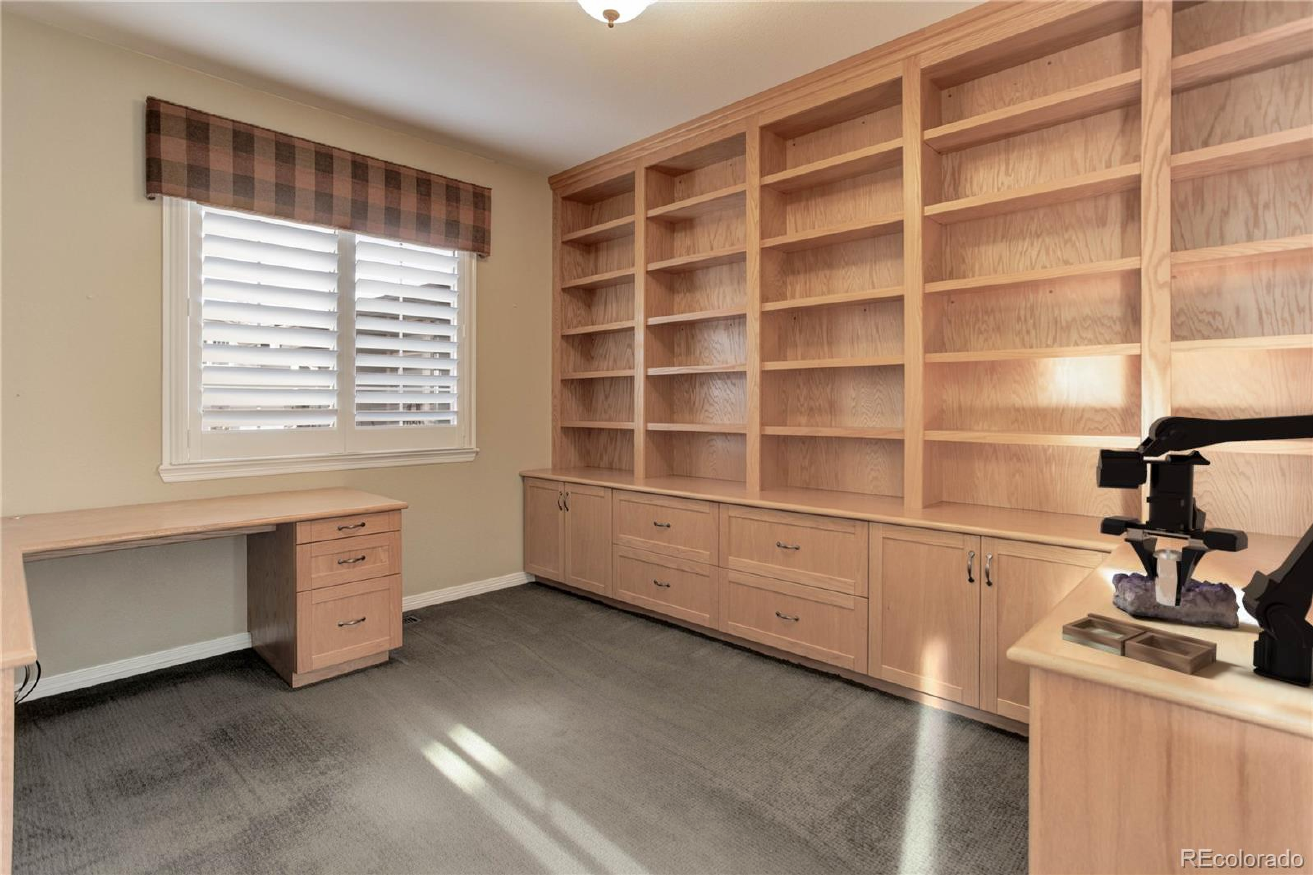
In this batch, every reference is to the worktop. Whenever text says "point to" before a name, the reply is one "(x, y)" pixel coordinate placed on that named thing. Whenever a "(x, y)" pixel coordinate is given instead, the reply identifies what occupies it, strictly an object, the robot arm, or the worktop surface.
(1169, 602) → the milkshake
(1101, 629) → the divided wooden tray
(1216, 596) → the geode
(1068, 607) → the worktop surface
